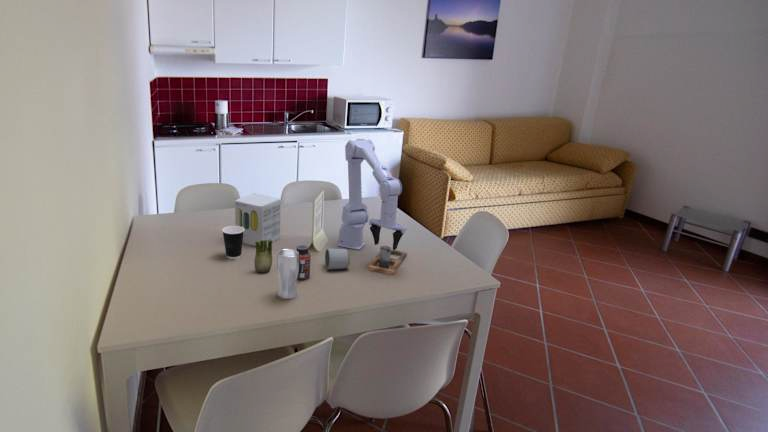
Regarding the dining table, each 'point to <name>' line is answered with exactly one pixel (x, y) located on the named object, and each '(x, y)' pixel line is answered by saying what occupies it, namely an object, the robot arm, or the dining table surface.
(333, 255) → the ceramic mug
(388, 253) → the metal peg
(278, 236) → the supplement box
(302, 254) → the supplement bottle
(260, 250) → the fennel bulb
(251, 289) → the dining table surface
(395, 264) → the rail
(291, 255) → the silver beverage can
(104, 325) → the dining table surface
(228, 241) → the dixie cup
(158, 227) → the dining table surface
